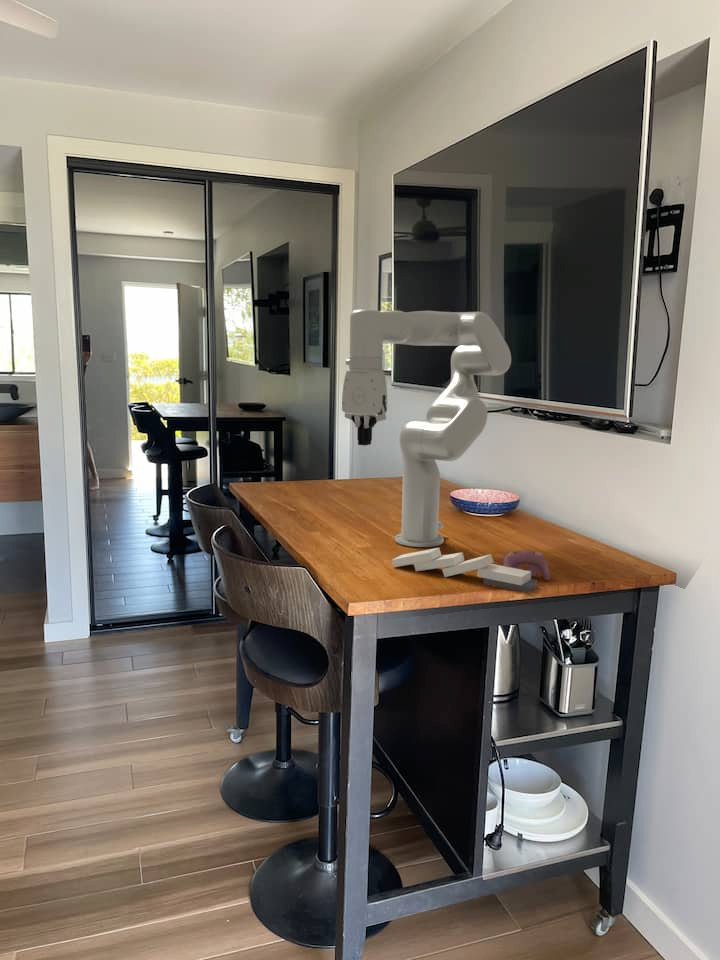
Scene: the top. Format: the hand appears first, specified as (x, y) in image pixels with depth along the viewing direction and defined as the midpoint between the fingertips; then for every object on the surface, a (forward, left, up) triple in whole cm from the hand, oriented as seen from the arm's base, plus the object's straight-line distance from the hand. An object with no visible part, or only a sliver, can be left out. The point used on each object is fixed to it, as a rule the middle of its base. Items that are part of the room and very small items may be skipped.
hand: (364, 444), depth 168 cm
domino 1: (+1, +10, -26) cm, 28 cm away
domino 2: (0, +16, -26) cm, 31 cm away
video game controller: (-8, +38, -27) cm, 47 cm away
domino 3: (0, +23, -26) cm, 35 cm away
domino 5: (0, +32, -27) cm, 42 cm away
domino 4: (0, +31, -25) cm, 40 cm away
